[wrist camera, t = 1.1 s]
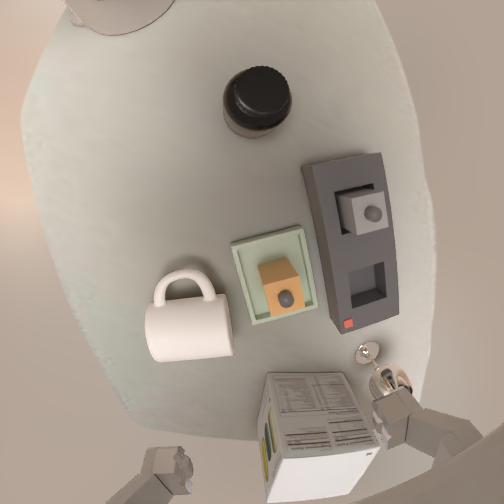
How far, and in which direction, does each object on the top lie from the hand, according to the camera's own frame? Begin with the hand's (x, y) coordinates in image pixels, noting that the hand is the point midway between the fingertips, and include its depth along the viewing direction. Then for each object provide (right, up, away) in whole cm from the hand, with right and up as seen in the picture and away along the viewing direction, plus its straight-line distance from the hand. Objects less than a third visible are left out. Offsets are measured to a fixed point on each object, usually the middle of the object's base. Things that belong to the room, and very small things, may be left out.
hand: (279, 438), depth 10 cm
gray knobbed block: (+11, +13, +27) cm, 32 cm away
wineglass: (+18, -9, +35) cm, 40 cm away
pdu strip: (+12, +9, +29) cm, 33 cm away
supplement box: (+7, -18, +37) cm, 41 cm away
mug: (-9, +1, +30) cm, 32 cm away
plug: (+2, +4, +29) cm, 30 cm away
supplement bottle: (-1, +25, +24) cm, 35 cm away
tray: (+2, +5, +30) cm, 30 cm away
